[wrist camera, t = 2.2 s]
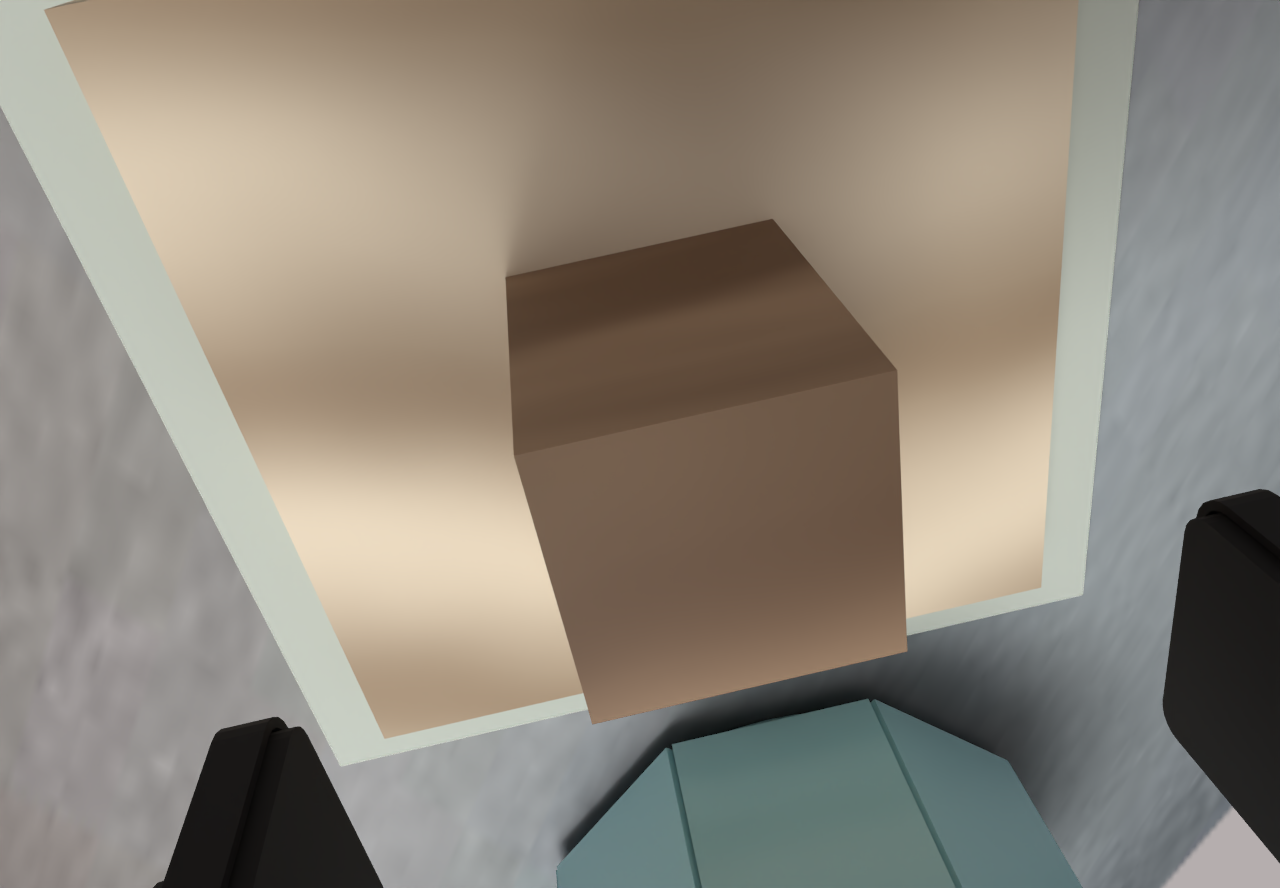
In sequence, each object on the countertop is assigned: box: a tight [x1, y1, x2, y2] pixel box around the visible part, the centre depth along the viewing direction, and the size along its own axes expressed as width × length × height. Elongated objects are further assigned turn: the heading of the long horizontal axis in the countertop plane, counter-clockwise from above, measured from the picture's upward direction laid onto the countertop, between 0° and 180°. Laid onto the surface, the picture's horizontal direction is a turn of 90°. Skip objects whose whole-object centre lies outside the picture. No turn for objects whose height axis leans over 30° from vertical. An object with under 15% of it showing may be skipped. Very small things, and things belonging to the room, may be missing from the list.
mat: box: [0, 0, 1139, 766], centre depth 16 cm, size 16×16×1 cm
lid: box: [44, 0, 1079, 739], centre depth 13 cm, size 13×13×6 cm
